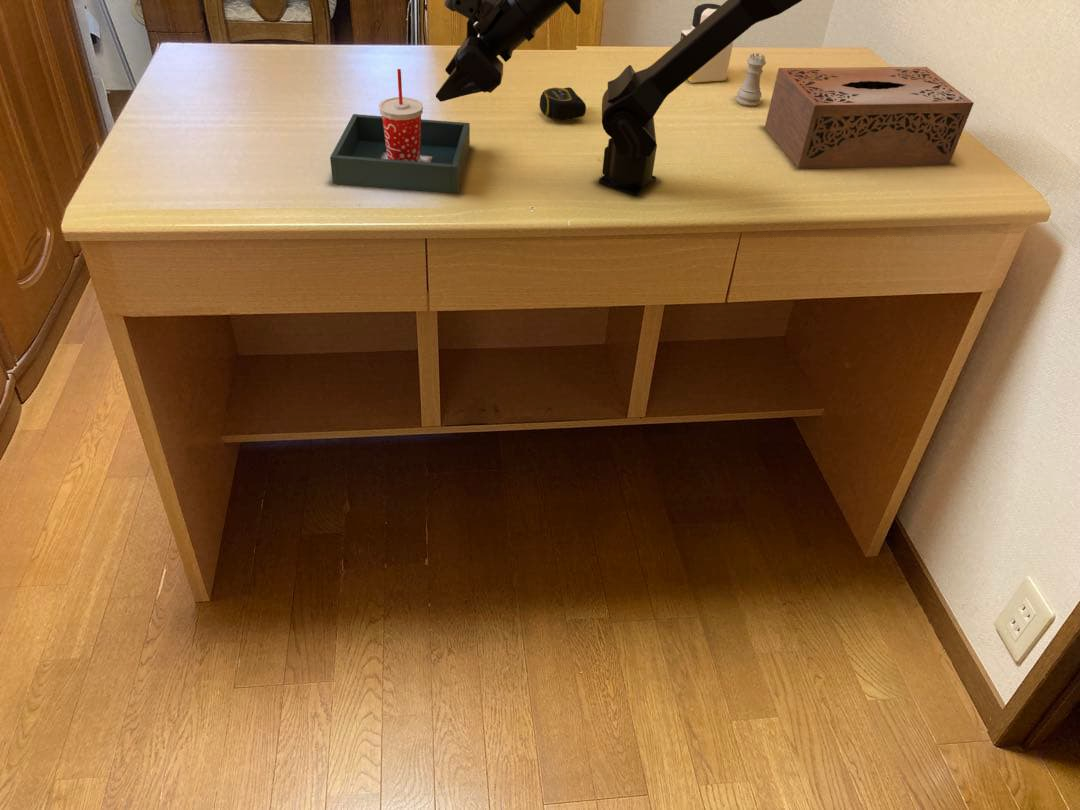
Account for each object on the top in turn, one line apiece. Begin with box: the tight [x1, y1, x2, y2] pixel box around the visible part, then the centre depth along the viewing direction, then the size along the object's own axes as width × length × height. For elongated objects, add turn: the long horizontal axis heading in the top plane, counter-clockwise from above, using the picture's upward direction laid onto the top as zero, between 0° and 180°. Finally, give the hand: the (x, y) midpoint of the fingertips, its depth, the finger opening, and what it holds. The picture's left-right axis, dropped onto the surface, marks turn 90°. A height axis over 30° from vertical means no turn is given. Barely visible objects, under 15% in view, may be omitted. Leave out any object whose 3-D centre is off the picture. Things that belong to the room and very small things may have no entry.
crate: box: [329, 113, 471, 194], centre depth 126 cm, size 18×15×4 cm
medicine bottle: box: [679, 3, 734, 84], centre depth 156 cm, size 7×7×12 cm
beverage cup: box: [378, 68, 424, 162], centre depth 122 cm, size 6×6×14 cm
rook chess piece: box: [735, 53, 767, 107], centre depth 149 cm, size 4×4×8 cm
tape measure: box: [539, 86, 587, 121], centre depth 142 cm, size 7×7×4 cm
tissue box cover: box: [764, 66, 975, 170], centre depth 137 cm, size 26×14×10 cm, turn 100°
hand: (442, 85), depth 119 cm, fingers open, 9 cm apart
